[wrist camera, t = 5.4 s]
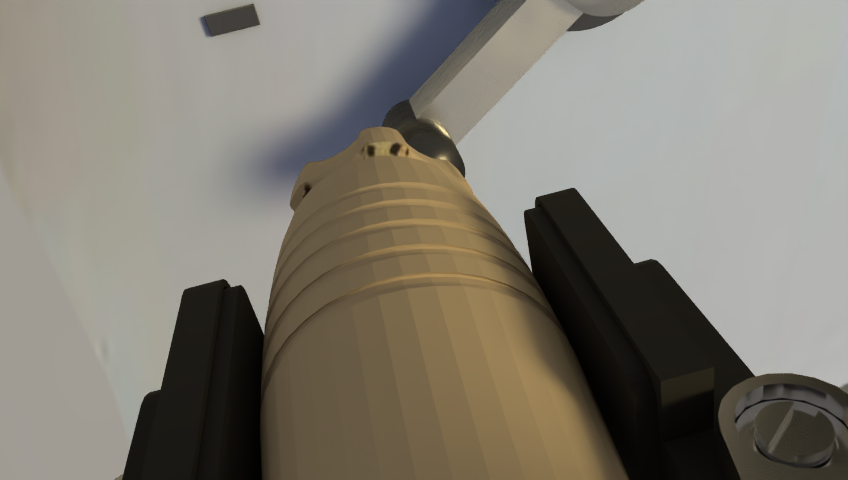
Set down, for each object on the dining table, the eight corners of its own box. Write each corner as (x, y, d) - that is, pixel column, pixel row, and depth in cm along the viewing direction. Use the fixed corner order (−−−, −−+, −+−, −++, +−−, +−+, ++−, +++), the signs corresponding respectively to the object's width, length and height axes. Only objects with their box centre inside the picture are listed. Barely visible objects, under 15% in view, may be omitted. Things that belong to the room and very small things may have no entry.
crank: (593, -150, 26) (648, -143, 22) (661, -63, 28) (723, -42, 24) (353, 118, 30) (362, 165, 26) (428, 178, 32) (448, 231, 28)
